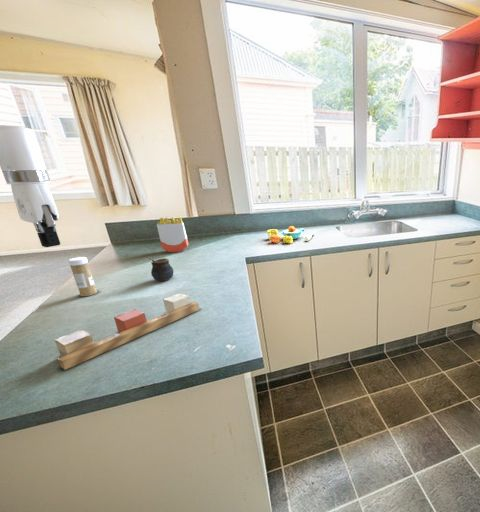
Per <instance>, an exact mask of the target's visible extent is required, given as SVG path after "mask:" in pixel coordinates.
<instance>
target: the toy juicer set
mask: <svg viewBox="0 0 480 512" xmlns="http://www.w3.org/2000/svg"><path fill="white" fill-rule="evenodd" d="M266 232H267V236H268V239H269V241H270V242H271V243H274V244H277V243H279V242H281V240H282V242H283V244H292V243H293V241H294V240H297V239H298V238H299V237H300V236H301V234H302V233H304V232H305V228H296V227H295V226H294V225H290V226H288V228H287V229H284V230H281V232H280V233H281V234H282V235H283V236H282V237H281V236H280V235H279V234H278V233H279V232H278V229H275V228H272V229H268V230H266ZM311 233H312V234H311ZM311 233H310V234H311V235H310V234H307V235H306V236H305V237H304V241H306V242H309V240H311V238H312V237H313V236H314V235H315V234H316V231H313V232H311ZM314 233H315V234H314ZM313 234H314V235H313ZM312 235H313V236H312ZM269 237H270V238H269ZM281 238H282V239H281Z"/></svg>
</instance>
